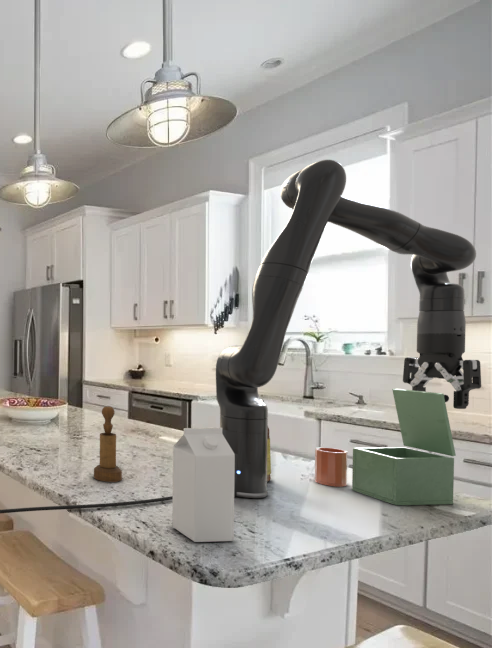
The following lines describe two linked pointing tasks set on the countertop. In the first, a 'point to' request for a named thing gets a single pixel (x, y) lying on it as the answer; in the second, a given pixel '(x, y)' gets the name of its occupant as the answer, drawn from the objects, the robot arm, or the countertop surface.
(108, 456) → the brown wooden tall piece
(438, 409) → the lid
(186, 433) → the milk carton
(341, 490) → the countertop surface
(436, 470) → the box
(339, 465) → the cup
